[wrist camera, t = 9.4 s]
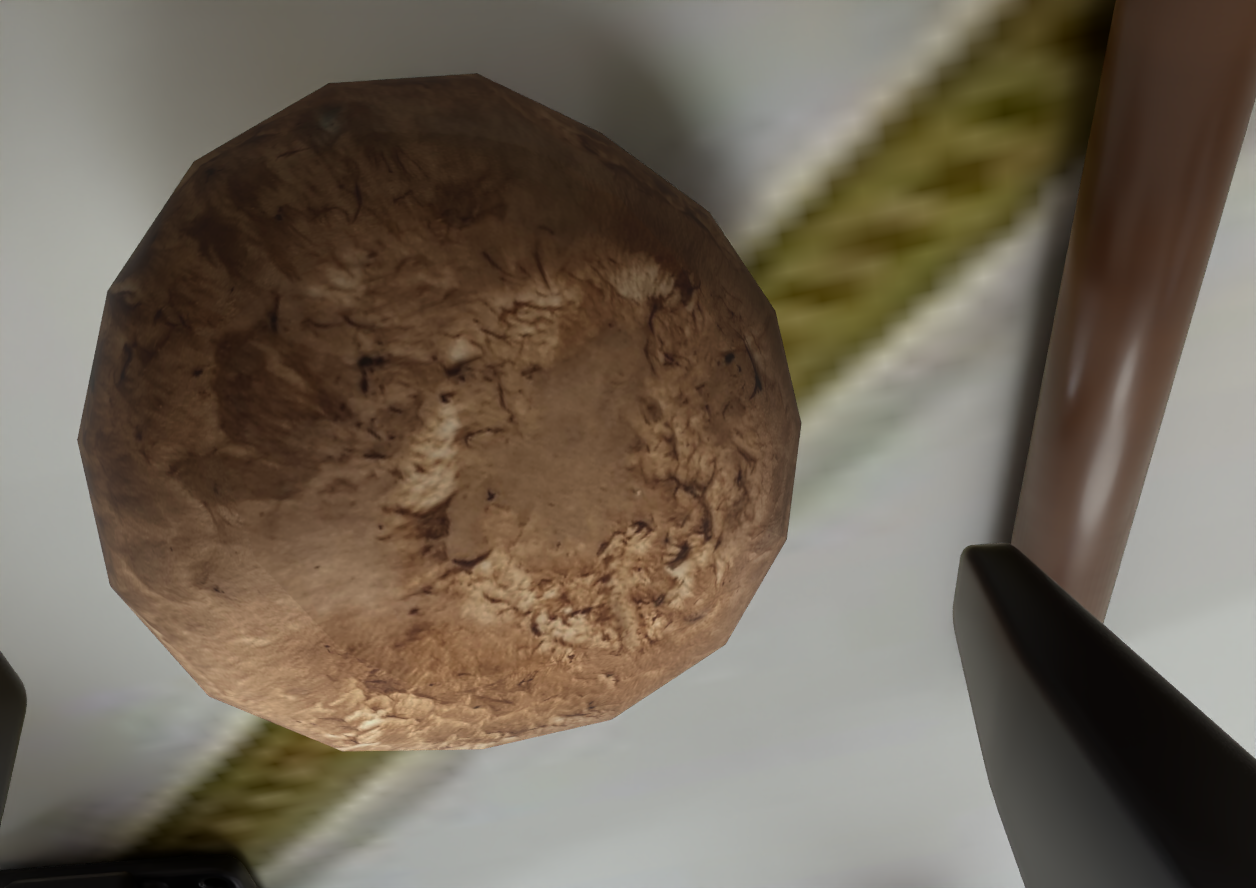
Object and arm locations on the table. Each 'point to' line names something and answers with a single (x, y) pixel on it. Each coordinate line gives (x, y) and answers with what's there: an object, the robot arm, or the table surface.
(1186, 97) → the wooden spoon
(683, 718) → the table surface
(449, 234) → the brown round ball
